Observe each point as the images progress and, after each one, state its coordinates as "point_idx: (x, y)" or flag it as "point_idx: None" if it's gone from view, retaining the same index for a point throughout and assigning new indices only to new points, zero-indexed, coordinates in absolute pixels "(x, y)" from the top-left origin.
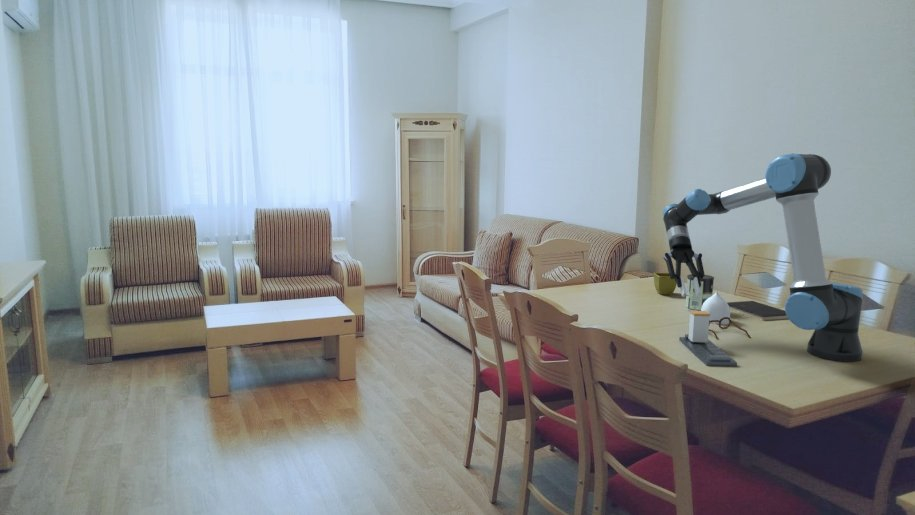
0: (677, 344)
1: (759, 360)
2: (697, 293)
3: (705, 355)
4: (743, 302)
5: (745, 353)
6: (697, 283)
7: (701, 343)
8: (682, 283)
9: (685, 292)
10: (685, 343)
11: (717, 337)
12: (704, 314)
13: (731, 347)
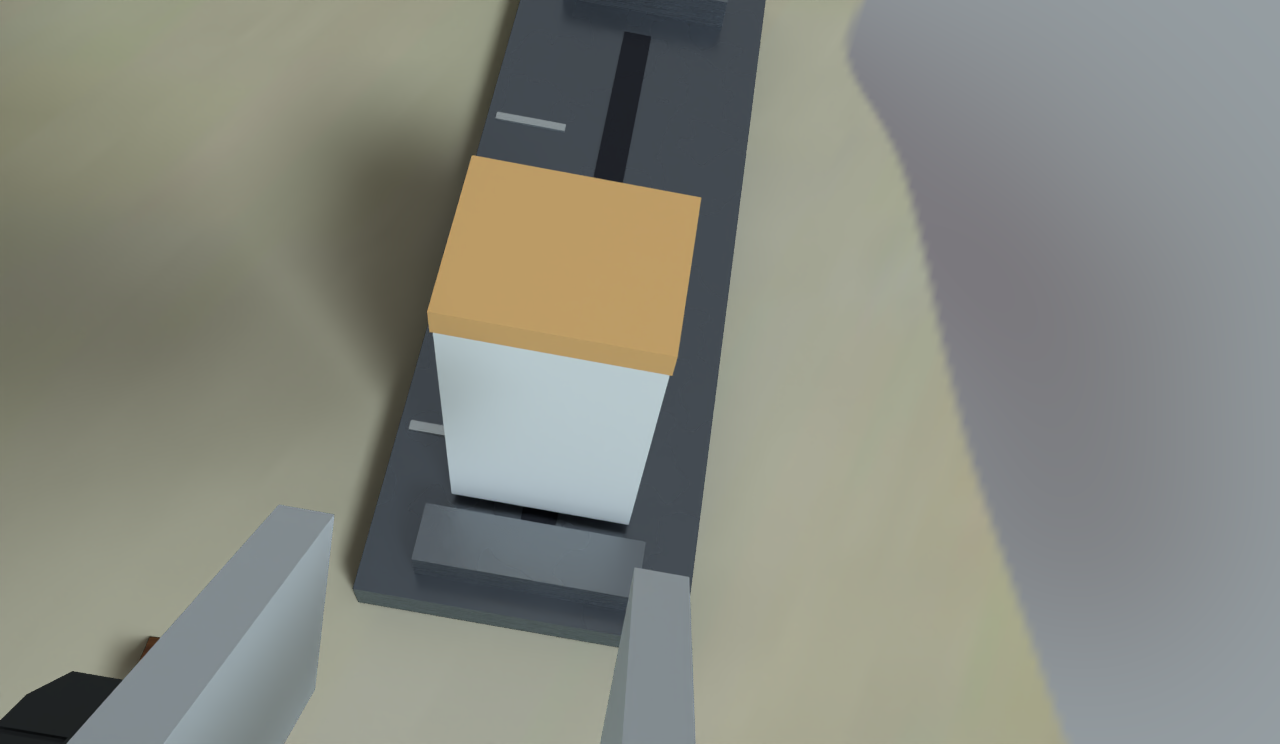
0: (763, 517)
1: (251, 30)
2: (320, 586)
3: (705, 90)
4: None
5: (228, 183)
6: (180, 659)
7: None
8: (690, 739)
9: (656, 576)
10: (708, 441)
11: (144, 655)
12: (551, 176)
13: (225, 353)
